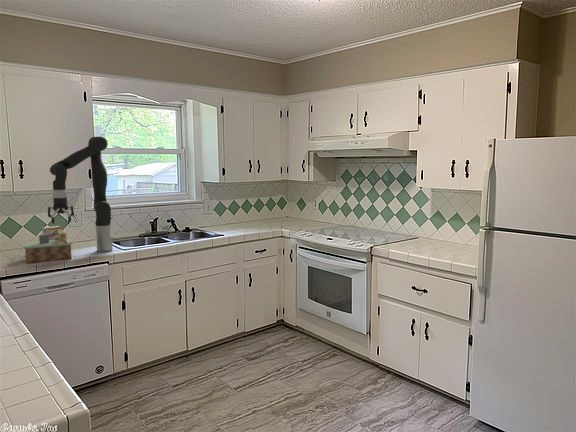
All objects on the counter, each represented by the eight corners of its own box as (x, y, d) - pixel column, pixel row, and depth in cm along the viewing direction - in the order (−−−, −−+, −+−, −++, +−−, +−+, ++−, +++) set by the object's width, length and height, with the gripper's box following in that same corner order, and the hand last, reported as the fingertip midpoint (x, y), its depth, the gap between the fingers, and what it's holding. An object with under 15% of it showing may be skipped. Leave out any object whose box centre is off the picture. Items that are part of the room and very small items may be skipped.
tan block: (65, 239, 286) (64, 229, 285) (67, 243, 272) (66, 233, 271) (58, 239, 284) (57, 230, 283) (59, 244, 270) (58, 234, 269)
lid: (70, 240, 287) (69, 231, 286) (71, 244, 274) (71, 234, 273) (24, 244, 275) (24, 234, 274) (24, 248, 262) (23, 238, 261)
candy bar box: (46, 253, 292) (44, 228, 290) (43, 252, 296) (41, 227, 293) (63, 250, 301) (62, 226, 299) (60, 249, 304) (58, 225, 302)
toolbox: (70, 254, 287) (69, 241, 286) (71, 259, 275) (70, 244, 274) (26, 258, 276) (25, 244, 274) (26, 263, 263) (25, 248, 262)
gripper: (72, 196, 281) (73, 221, 283) (46, 196, 274) (48, 223, 276) (73, 197, 274) (74, 223, 276) (46, 197, 268) (48, 224, 270)
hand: (61, 223), depth 276 cm, fingers open, 8 cm apart
